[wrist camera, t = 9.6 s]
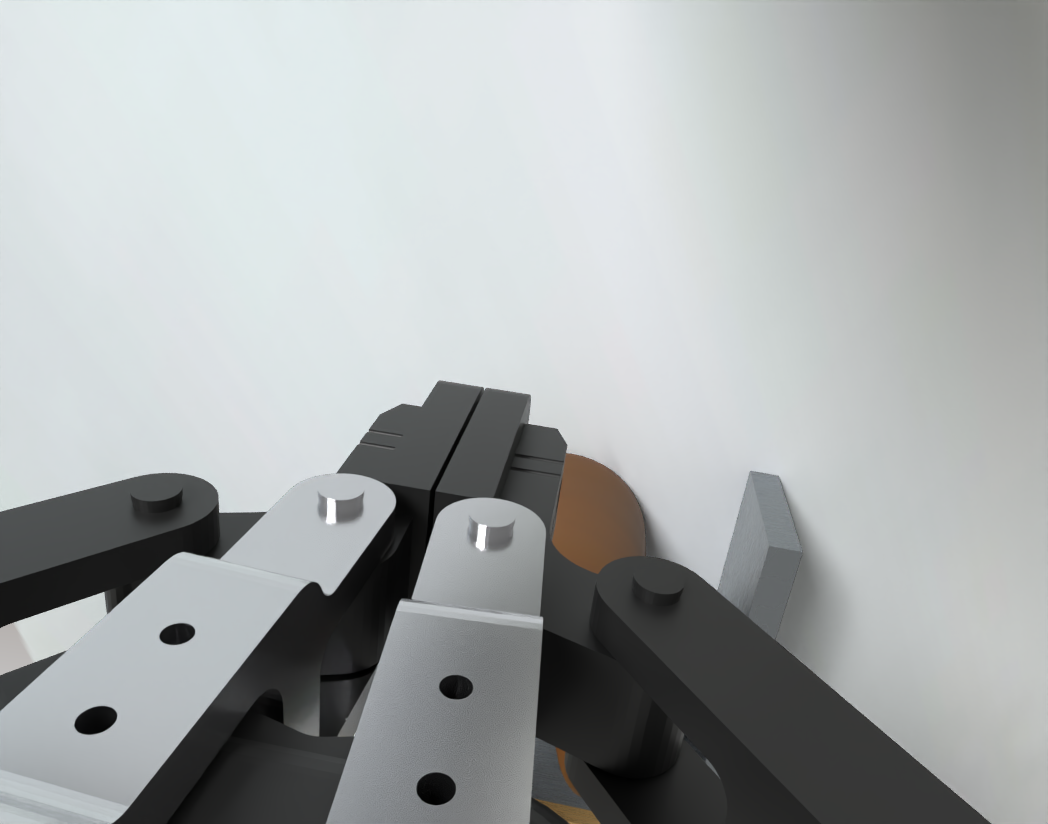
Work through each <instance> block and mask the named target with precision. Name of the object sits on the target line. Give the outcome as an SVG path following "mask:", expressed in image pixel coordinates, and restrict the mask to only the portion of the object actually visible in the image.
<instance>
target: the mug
mask: <svg viewBox="0 0 1048 824" xmlns="http://www.w3.org/2000/svg"><path fill="white" fill-rule="evenodd" d="M552 543H553V545H554V546H555V547H556V549H557V550H558V551H559V552H560V553H561V554H562V555H563V556H564V557H566V558H567V559H568V560H570V561H571V562H573V563H574V564H576V565H578V566H580V567H582V568H584V569H586V570H589V571H591V572H594V573H596V574H598V573H599V572H600V571H601V569H602V568H603V567H604V566H605V565H607V564H608V563H610V562H612V561H614V560H617V559H620V558H625V557H631V556H646V539H645V525H644V520H643V515H642V512H641V509H640V506H639V504H638V502H637V500H636V498H635V496H634V494H633V493H632V491H631V490H630V488H629V487H628V486H627V484H626V483H625V482H624V481H623V480H622V479H621V478H620V477H619V476H618V475H617V474H615V473H614V472H613V471H612V470H610V469H609V468H607V467H606V466H604V465H602V464H600V463H598V462H596V461H594V460H592V459H589V458H586V457H583V456H579V455H574V454H568V453H566V457H565V464H564V470H563V477H562V483H561V490H560V497H559V503H558V510H557V517H556V523H555V529H554V534H553V539H552ZM555 748H556V752H557V757H558V762H559V766H560V769H561V772H562V774H563V777H564V779H565V781H566V783H567V784H568V785H569V787H570V788H571V790H572V791H573V792H574V794H576V795H578V796H580V795H579V793H578V792H577V790H576V789H575V788H574V786H573V785H572V783H571V781H570V780H569V778H568V775H567V773H566V770H565V764H564V760H565V751H563V750H561V749H559V748H557V747H555ZM580 797H581V796H580Z"/></svg>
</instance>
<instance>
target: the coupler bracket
mask: <svg viewBox="0 0 1048 824" xmlns="http://www.w3.org/2000/svg"><path fill="white" fill-rule="evenodd" d="M802 553H803V551H802V548H801V545H800V542H799V539H798V535H797V532H796V529H795V526H794V523H793V520H792V517H791V513H790V510H789V507H788V504H787V501H786V498H785V495H784V491H783V488H782V485H781V482H780V479H779V476H776V475H770V474H764V473H759V472H753V471H750V474H749V477H748V481H747V485H746V489H745V492H744V496H743V500H742V503H741V507H740V511H739V514H738V518H737V522H736V525H735V529H734V533H733V536H732V540H731V544H730V547H729V551H728V555H727V559H726V562H725V566H724V570H723V573H722V577H721V581H720V584H719V588H718V592H719V593H720V594H721V595H722V596H724V597H725V598H726V599H727V600H728V601H730V602H731V603H732V604H733V605H734V606H735V607H737V608H738V609H739V610H740V611H741V612H742V613H744V614H745V615H746V616H747V617H748V618H750V619H751V620H752V621H753V622H754V623H755V624H757V625H758V626H759V627H760V628H761V629H763V630H764V631H765V632H766V633H767V634H768V635H770V636H771V637H772V638H773V639H774V640H775V639H776V636H777V633H778V629H779V626H780V623H781V620H782V617H783V613H784V610H785V607H786V604H787V601H788V598H789V594H790V591H791V588H792V585H793V582H794V578H795V575H796V572H797V569H798V566H799V563H800V559H801V556H802ZM683 739H684V740H685V741H686V742H687V743H688V744H689V745H690V746H691V747H692V748H693V750H694V751H695V752H696V753H697V754H698V755H699V756H700V757H701V758H702V760H703V761H704V762H705V763H706V764H707V765H708V766H709V767H710V768H711V769H712V771H713V772H714V773H715V774H716V775H717V776H718V777H719V775H718V774H717V772H716V770H715V769H714V767H713V766H712V764H711V763H710V762H709V761H708V760H707V759H706V757H705V756H704V755H703V754H702V753H701V752H700V751H699V750H698V749H697V748H696V746H695V745H694V744H693V743H692V742H691V741H690V740H689V739H688V738H687V737H686V736H685V734H684V737H683ZM719 778H720V777H719ZM531 797H532V798H534V799H535V800H537V801H539V802H540V803H542V804H544V805H546V806H547V807H549V808H550V809H551V810H553V811H554V812H555V813H557V814H558V815H559V816H561V817H562V818H563V819H565V820H566V821H567V822H568V823H569V824H600V822H599V821H598V820H597V818H596V817H595V815H594V814H593V813H592V811H591V810H590V808H589V807H588V806H587V804H586V803H585V802H584V800H583V799H582V797H580V796H578V795H576V794H574V792H573V791H572V790H571V788H570V787H569V785H568V784H567V783H566V781H565V779H564V777H563V774H562V772H561V769H560V766H559V762H558V757H557V752H556V748H555V746H553V745H551V744H549V743H547V742H545V741H543V740H540V739H538V738H536V737H535V749H534V764H533V779H532V794H531Z"/></svg>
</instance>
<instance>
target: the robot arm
mask: <svg viewBox="0 0 1048 824" xmlns="http://www.w3.org/2000/svg"><path fill="white" fill-rule="evenodd" d="M530 403H531V395H528V394H522V393H516V392H510V391H503V390H497V389H491V388H486V389H485V391H484V388H483V387H478V386H471V385H465V384H459V383H453V382H446V381H438V382H437V384H436V385H435V387H434V388H433V390H432V392H431V393H430V395H429V396H428V398H427V399H426V401H425V402H424V404H423V405H422V407H419V406H413V405H407V404H401V405H399V406H397V407H395V408H393V409H391V410H388V411H386V412H384V413H382V414H380V415H379V417H378V418H377V419H376V421H375V422H374V423H373V425H372V426H371V427H370V429H369V432H367V433H366V434H365V436H364V437H363V438H362V440H361V441H360V445H357V446H356V448H355V449H354V450H353V452H352V453H351V454H350V456H349V457H348V458H347V460H346V461H345V462H344V464H343V465H342V466H341V468H340V469H339V470H338V472H337V473H336V474H325V475H320V476H315V477H312V478H309V479H306V480H304V481H301V482H300V483H298V484H296V485H295V486H293V487H292V488H291V489H290V490H289V491H288V492H287V493H286V494H285V495H284V496H283V497H282V498H281V499H280V500H279V501H278V502H277V503H276V504H275V505H274V506H273V507H272V508H271V509H270V510H269V511H268V512H252V513H219V501H218V493H217V490H216V489H215V488H214V486H213V485H211V484H210V483H209V482H207V481H205V480H203V479H201V478H198V477H195V476H190V475H186V474H177V473H159V474H149V475H143V476H138V477H134V478H130V479H126V480H122V481H118V482H114V483H111V484H107V485H103V486H99V487H95V488H91V489H87V490H83V491H79V492H76V493H72V494H68V495H64V496H60V497H56V498H52V499H48V500H45V501H41V502H37V503H33V504H29V505H25V506H21V507H17V508H13V509H10V510H6V511H2V512H0V628H1V627H3V626H5V625H8V624H10V623H13V622H16V621H19V620H22V619H25V618H28V617H31V616H34V615H37V614H40V613H43V612H46V611H49V610H52V609H55V608H58V607H61V606H64V605H66V604H69V603H72V602H75V601H78V600H81V599H84V598H87V597H90V596H93V595H96V594H99V593H102V592H105V600H106V609H107V615H106V616H105V617H104V618H103V619H102V620H101V621H99V622H98V623H97V624H96V625H95V626H94V627H93V628H92V629H91V630H89V631H88V632H87V633H86V634H85V635H84V636H83V637H82V638H81V639H80V640H78V641H77V642H76V643H75V644H74V645H73V646H72V647H71V648H70V649H68V650H67V651H64V652H62V653H59V654H56V655H54V656H51V657H48V658H46V659H43V660H40V661H38V662H35V663H32V664H30V665H27V666H24V667H21V668H19V669H16V670H13V671H11V672H8V673H5V674H3V675H0V824H569V823H568V822H567V821H566V820H565V819H563V818H562V817H561V816H559V815H558V814H557V813H555V812H554V811H553V810H551V809H550V808H549V807H547V806H546V805H544V804H542V803H540V802H539V801H537V800H535V799H534V798H532V797H531V794H532V779H533V764H534V749H535V737H536V738H538V739H540V740H543V741H545V742H547V743H549V744H551V745H553V746H555V747H557V748H559V749H561V750H563V751H565V760H564V764H565V770H566V773H567V775H568V778H569V780H570V781H571V783H572V785H573V786H574V788H575V789H576V790H577V792H578V793H579V795H580V796H581V797H582V799H583V800H584V802H585V803H586V804H587V806H588V807H589V808H590V810H591V811H592V813H593V814H594V815H595V817H596V818H597V820H598V821H599V822H600V824H991V823H990V822H989V821H987V820H986V819H985V818H984V817H983V816H982V815H980V814H979V813H978V812H977V811H976V810H975V809H973V808H972V807H971V806H970V805H969V804H967V803H966V802H965V801H964V800H963V799H962V798H960V797H959V796H958V795H957V794H956V793H954V792H953V791H952V790H951V789H950V788H949V787H947V786H946V785H945V784H944V783H943V782H942V781H940V780H939V779H938V778H937V777H936V776H934V775H933V774H932V773H931V772H930V771H929V770H927V769H926V768H925V767H924V766H923V765H922V764H920V763H919V762H918V761H917V760H916V759H914V758H913V757H912V756H911V755H910V754H909V753H907V752H906V751H905V750H904V749H903V748H901V747H900V746H899V745H898V744H897V743H896V742H894V741H893V740H892V739H891V738H890V737H889V736H887V735H886V734H885V733H884V732H883V731H881V730H880V729H879V728H878V727H877V726H876V725H874V724H873V723H872V722H871V721H870V720H869V719H867V718H866V717H865V716H864V715H863V714H861V713H860V712H859V711H858V710H857V709H856V708H854V707H853V706H852V705H851V704H850V703H848V702H847V701H846V700H845V699H844V698H843V697H841V696H840V695H839V694H838V693H837V692H836V691H834V690H833V689H832V688H831V687H830V686H828V685H827V684H826V683H825V682H824V681H823V680H821V679H820V678H819V677H818V676H817V675H816V674H814V673H813V672H812V671H811V670H810V669H808V668H807V667H806V666H805V665H804V664H803V663H801V662H800V661H799V660H798V659H797V658H795V657H794V656H793V655H792V654H791V653H790V652H788V651H787V650H786V649H785V648H784V647H783V646H781V645H780V644H779V643H778V642H777V641H775V640H774V639H773V638H772V637H771V636H770V635H768V634H767V633H766V632H765V631H764V630H763V629H761V628H760V627H759V626H758V625H757V624H755V623H754V622H753V621H752V620H751V619H750V618H748V617H747V616H746V615H745V614H744V613H742V612H741V611H740V610H739V609H738V608H737V607H735V606H734V605H733V604H732V603H731V602H730V601H728V600H727V599H726V598H725V597H724V596H722V595H721V594H720V593H719V592H718V591H717V590H715V589H714V588H713V587H712V586H711V585H710V584H708V583H707V582H706V581H705V580H704V579H702V578H701V577H700V576H699V575H697V574H696V573H694V572H693V571H691V570H689V569H688V568H686V567H684V566H681V565H679V564H677V563H674V562H671V561H668V560H664V559H660V558H655V557H648V556H631V557H625V558H620V559H617V560H614V561H612V562H610V563H608V564H607V565H605V566H604V567H603V568H602V569H601V571H600V572H599V573H598V574H596V573H594V572H591V571H589V570H586V569H584V568H582V567H580V566H578V565H576V564H574V563H573V562H571V561H570V560H568V559H567V558H566V557H564V556H563V555H562V554H561V553H560V552H559V551H558V550H557V549H556V547H555V546H554V545H553V543H552V539H553V534H554V529H555V523H556V517H557V510H558V503H559V497H560V490H561V483H562V477H563V470H564V464H565V457H566V450H567V444H566V442H565V441H564V439H563V437H562V436H561V434H560V432H559V431H558V429H555V428H549V427H543V426H537V425H531V424H528V421H529V413H530ZM355 733H356V734H355ZM354 734H355V736H354ZM684 734H685V736H686V737H687V738H688V739H689V740H690V741H691V742H692V743H693V744H694V745H695V746H696V748H697V749H698V750H699V751H700V752H701V753H702V754H703V755H704V756H705V757H706V759H707V760H708V761H709V762H710V763H711V764H712V766H713V767H714V769H715V770H716V772H717V774H718V775H719V777H720V778H719V777H718V776H717V775H716V774H715V773H714V772H713V771H712V769H711V768H710V767H709V766H708V765H707V764H706V763H705V762H704V761H703V760H702V758H701V757H700V756H699V755H698V754H697V753H696V752H695V751H694V750H693V748H692V747H691V746H690V745H689V744H688V743H687V742H686V741H685V740H684V739H683V737H684Z"/></svg>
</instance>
